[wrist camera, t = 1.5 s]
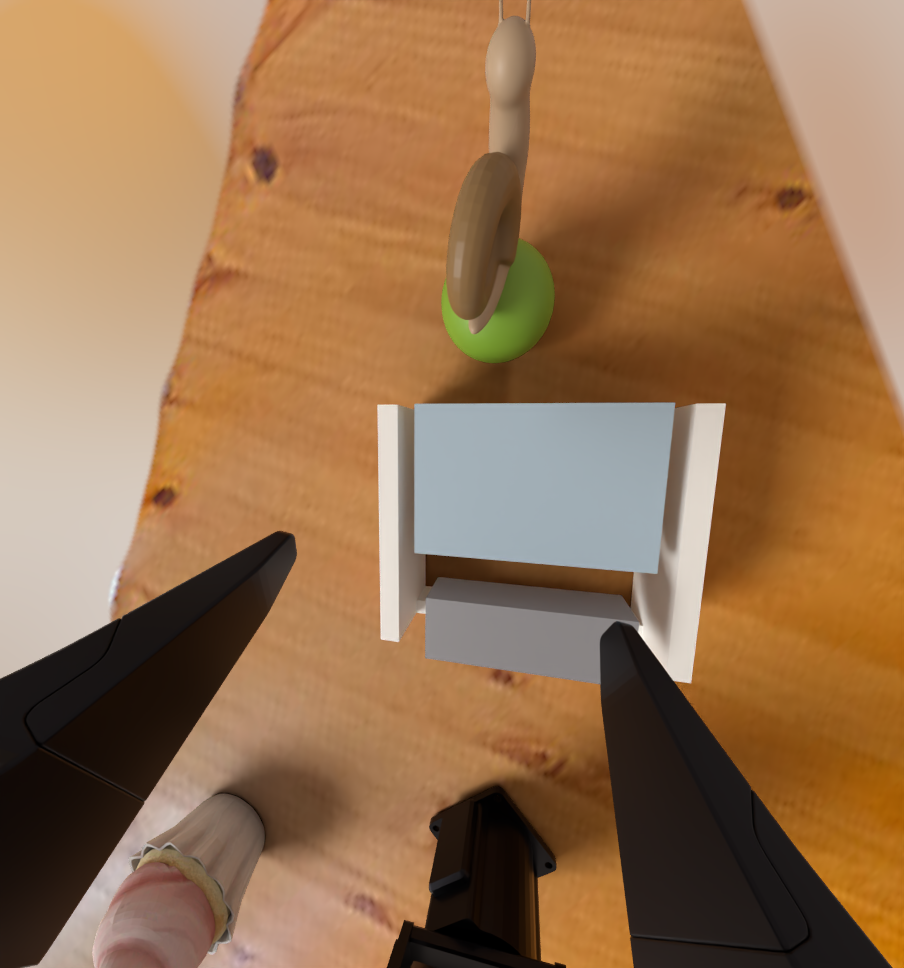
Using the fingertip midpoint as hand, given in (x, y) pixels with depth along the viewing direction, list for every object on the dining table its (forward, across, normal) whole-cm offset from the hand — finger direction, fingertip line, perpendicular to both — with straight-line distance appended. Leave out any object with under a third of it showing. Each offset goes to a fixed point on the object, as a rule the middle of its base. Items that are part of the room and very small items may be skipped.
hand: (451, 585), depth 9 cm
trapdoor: (+7, -3, +3) cm, 8 cm away
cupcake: (-3, +11, +36) cm, 38 cm away
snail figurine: (+16, 0, -4) cm, 16 cm away
